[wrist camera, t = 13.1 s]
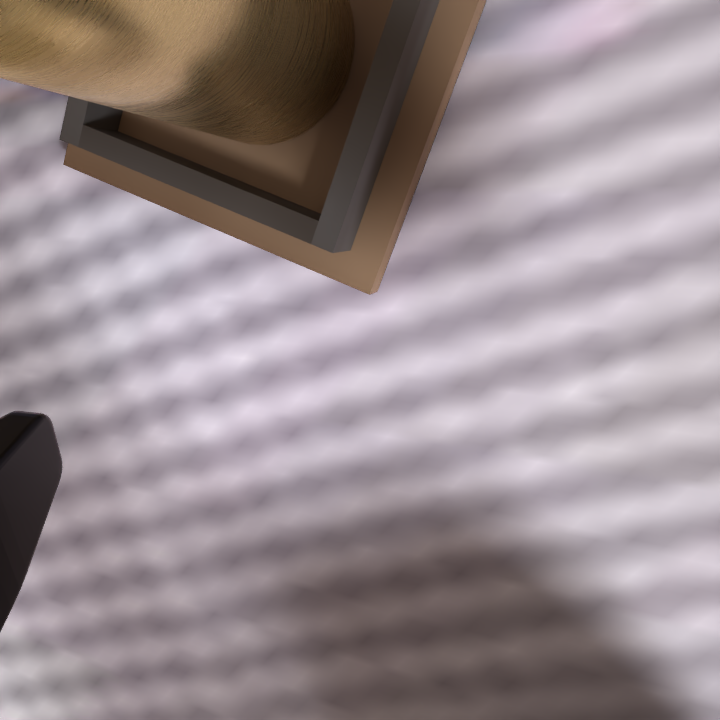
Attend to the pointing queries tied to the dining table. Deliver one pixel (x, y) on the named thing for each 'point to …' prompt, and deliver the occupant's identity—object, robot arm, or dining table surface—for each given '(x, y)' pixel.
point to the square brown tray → (304, 149)
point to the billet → (188, 59)
